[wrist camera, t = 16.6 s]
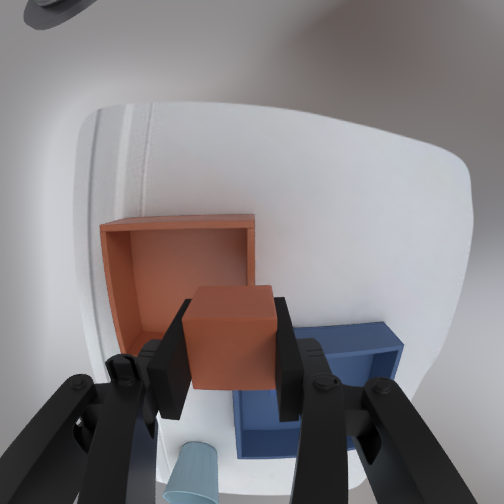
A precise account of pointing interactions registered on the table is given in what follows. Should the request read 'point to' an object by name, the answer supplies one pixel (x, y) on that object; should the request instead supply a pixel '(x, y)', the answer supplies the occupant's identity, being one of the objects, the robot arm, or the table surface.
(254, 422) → the blue bin
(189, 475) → the cup
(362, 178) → the table surface
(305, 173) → the table surface
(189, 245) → the terracotta bin
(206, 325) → the terracotta block
